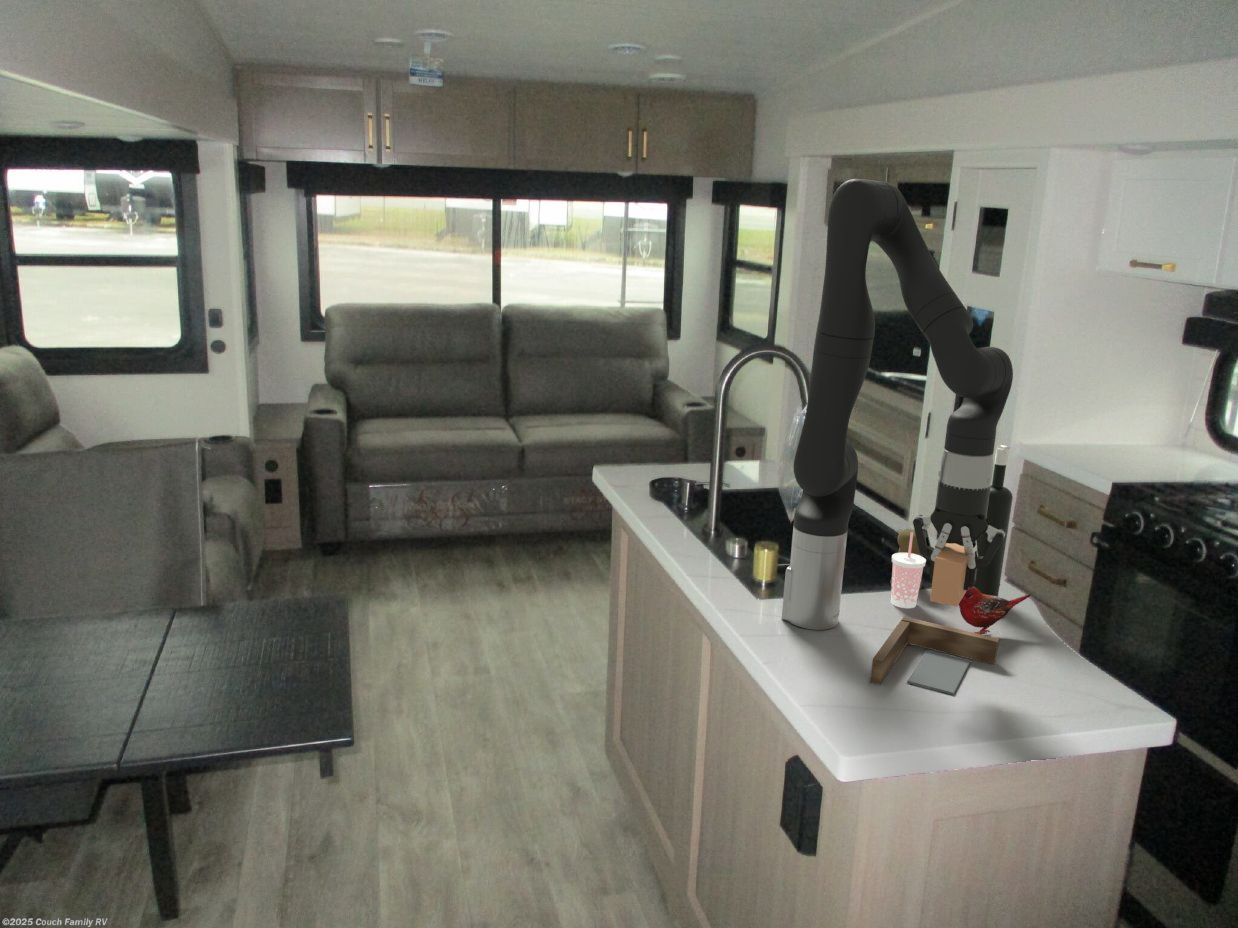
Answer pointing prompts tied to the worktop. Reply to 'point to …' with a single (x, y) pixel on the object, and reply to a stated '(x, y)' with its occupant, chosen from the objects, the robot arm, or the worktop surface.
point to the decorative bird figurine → (985, 608)
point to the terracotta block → (949, 575)
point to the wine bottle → (995, 526)
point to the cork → (904, 545)
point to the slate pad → (939, 672)
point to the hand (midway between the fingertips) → (951, 585)
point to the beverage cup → (906, 577)
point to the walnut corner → (931, 644)
